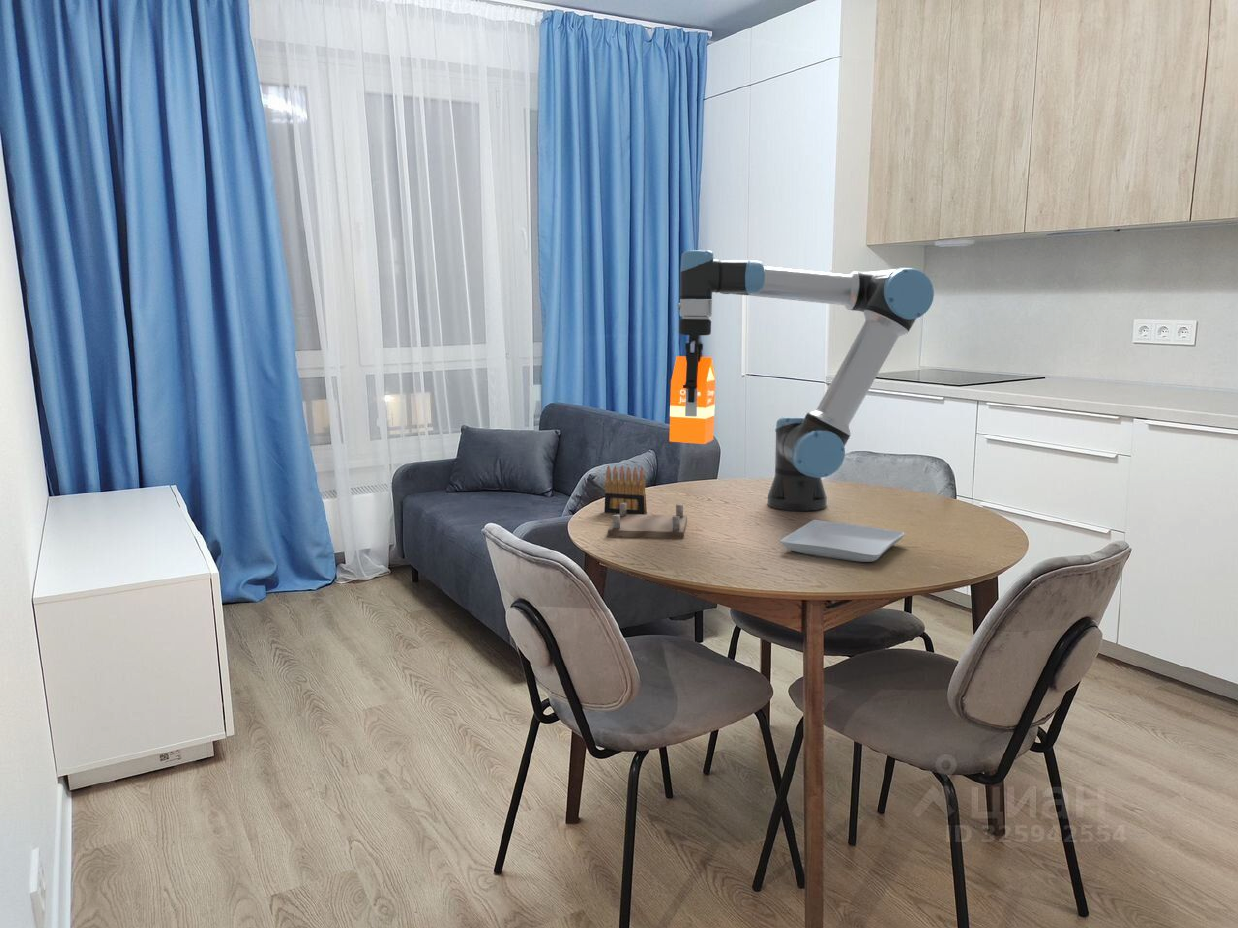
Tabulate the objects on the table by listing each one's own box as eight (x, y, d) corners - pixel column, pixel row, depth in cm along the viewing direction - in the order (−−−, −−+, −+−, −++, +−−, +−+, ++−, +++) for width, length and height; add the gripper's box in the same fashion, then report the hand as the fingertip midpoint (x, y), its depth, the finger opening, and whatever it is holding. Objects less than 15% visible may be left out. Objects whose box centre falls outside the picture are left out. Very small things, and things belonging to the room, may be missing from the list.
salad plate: (877, 570, 180) (878, 553, 180) (777, 555, 191) (777, 539, 191) (906, 545, 198) (907, 530, 197) (812, 533, 209) (813, 518, 208)
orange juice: (704, 444, 213) (707, 358, 209) (668, 441, 216) (671, 356, 212) (713, 439, 220) (716, 356, 216) (678, 437, 223) (681, 355, 219)
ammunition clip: (646, 513, 228) (646, 466, 226) (644, 515, 226) (644, 468, 224) (606, 511, 231) (606, 464, 229) (604, 512, 230) (603, 465, 227)
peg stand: (686, 521, 219) (687, 503, 218) (683, 538, 204) (683, 518, 203) (617, 519, 221) (616, 501, 221) (608, 536, 206) (607, 517, 205)
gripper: (682, 317, 224) (680, 408, 228) (675, 318, 203) (672, 418, 207) (713, 317, 223) (710, 409, 227) (708, 319, 202) (705, 420, 206)
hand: (692, 413), depth 217 cm, fingers closed on orange juice, 9 cm apart
